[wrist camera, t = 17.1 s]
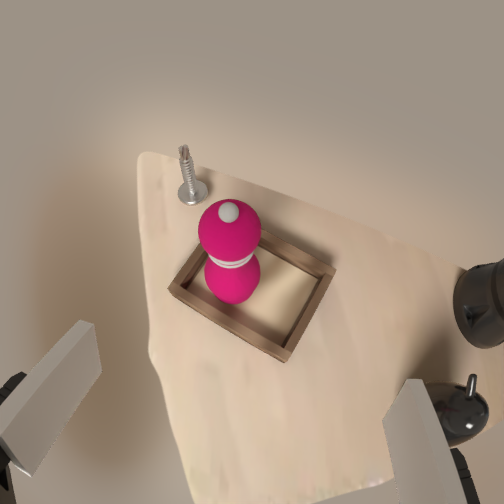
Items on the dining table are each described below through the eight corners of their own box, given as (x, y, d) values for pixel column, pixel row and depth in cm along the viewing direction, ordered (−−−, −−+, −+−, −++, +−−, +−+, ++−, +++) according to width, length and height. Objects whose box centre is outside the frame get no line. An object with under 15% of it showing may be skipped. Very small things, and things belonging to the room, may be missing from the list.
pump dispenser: (441, 375, 40) (505, 362, 26) (445, 435, 36) (509, 440, 22) (387, 388, 40) (446, 383, 26) (391, 453, 35) (449, 471, 22)
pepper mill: (224, 251, 47) (216, 161, 28) (268, 275, 45) (286, 195, 27) (197, 291, 44) (168, 220, 26) (242, 317, 43) (243, 262, 24)
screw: (176, 208, 51) (185, 185, 53) (204, 213, 50) (212, 189, 52) (159, 156, 39) (172, 131, 41) (194, 161, 38) (205, 135, 40)
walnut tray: (330, 278, 46) (336, 269, 43) (283, 363, 41) (287, 361, 38) (226, 220, 50) (225, 209, 47) (172, 295, 45) (167, 288, 41)
